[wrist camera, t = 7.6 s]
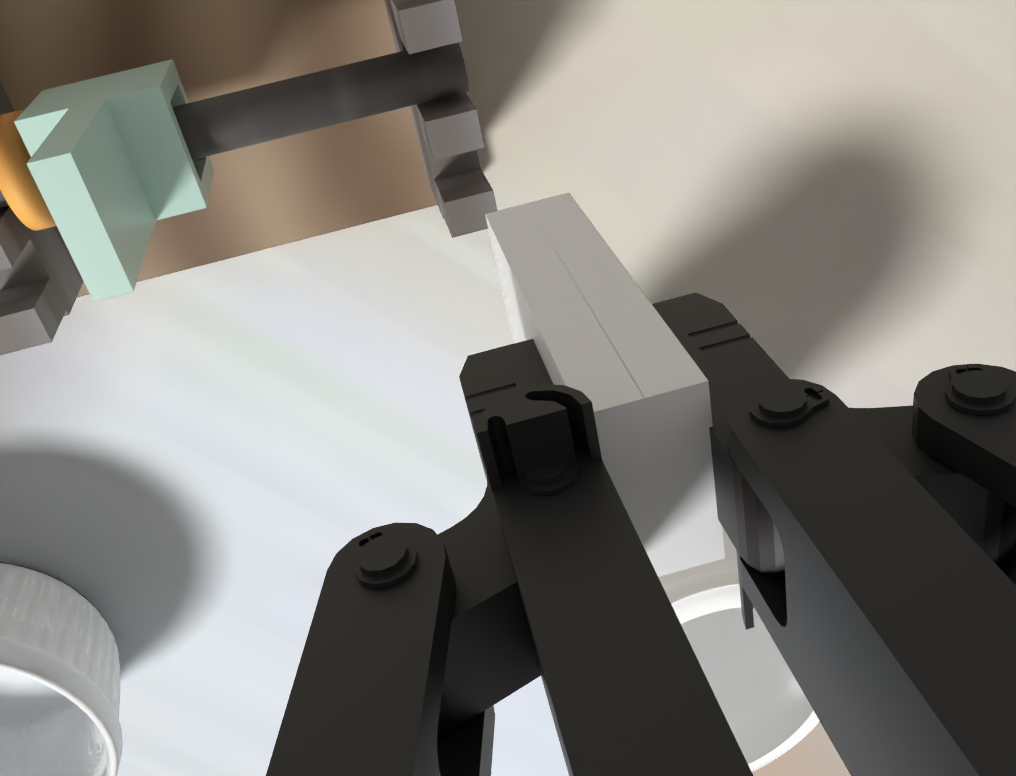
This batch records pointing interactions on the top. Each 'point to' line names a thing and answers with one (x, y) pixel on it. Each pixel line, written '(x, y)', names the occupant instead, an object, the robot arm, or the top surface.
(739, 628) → the jar
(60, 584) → the ramekin
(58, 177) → the mint green stepped block
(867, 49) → the top surface
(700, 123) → the top surface
